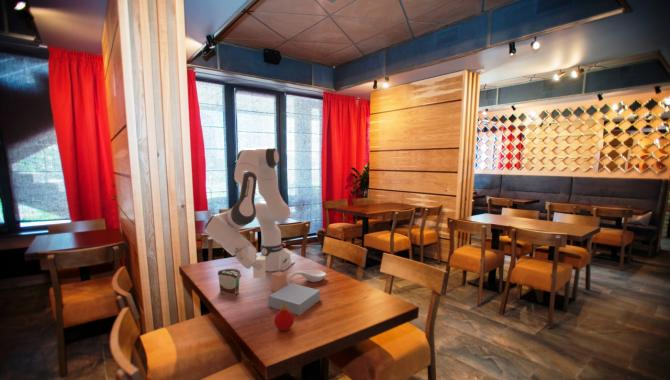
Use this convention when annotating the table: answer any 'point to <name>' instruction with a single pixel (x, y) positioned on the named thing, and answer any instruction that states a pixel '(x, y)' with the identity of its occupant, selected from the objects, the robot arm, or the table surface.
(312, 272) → the spoon rest
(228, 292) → the food container
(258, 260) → the off-white column
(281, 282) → the terracotta column
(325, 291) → the table surface
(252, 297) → the table surface
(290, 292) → the slate plinth block
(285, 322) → the christmas ornament
